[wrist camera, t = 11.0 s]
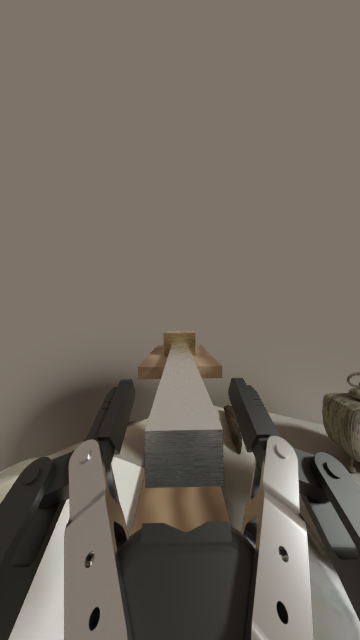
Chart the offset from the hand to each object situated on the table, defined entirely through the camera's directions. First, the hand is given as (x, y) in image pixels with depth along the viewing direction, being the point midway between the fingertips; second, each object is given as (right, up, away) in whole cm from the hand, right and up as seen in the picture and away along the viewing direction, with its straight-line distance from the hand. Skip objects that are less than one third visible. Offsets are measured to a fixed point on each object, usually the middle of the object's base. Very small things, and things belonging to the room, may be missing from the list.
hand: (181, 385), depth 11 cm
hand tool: (+20, -35, +39) cm, 57 cm away
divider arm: (0, -3, +12) cm, 12 cm away
